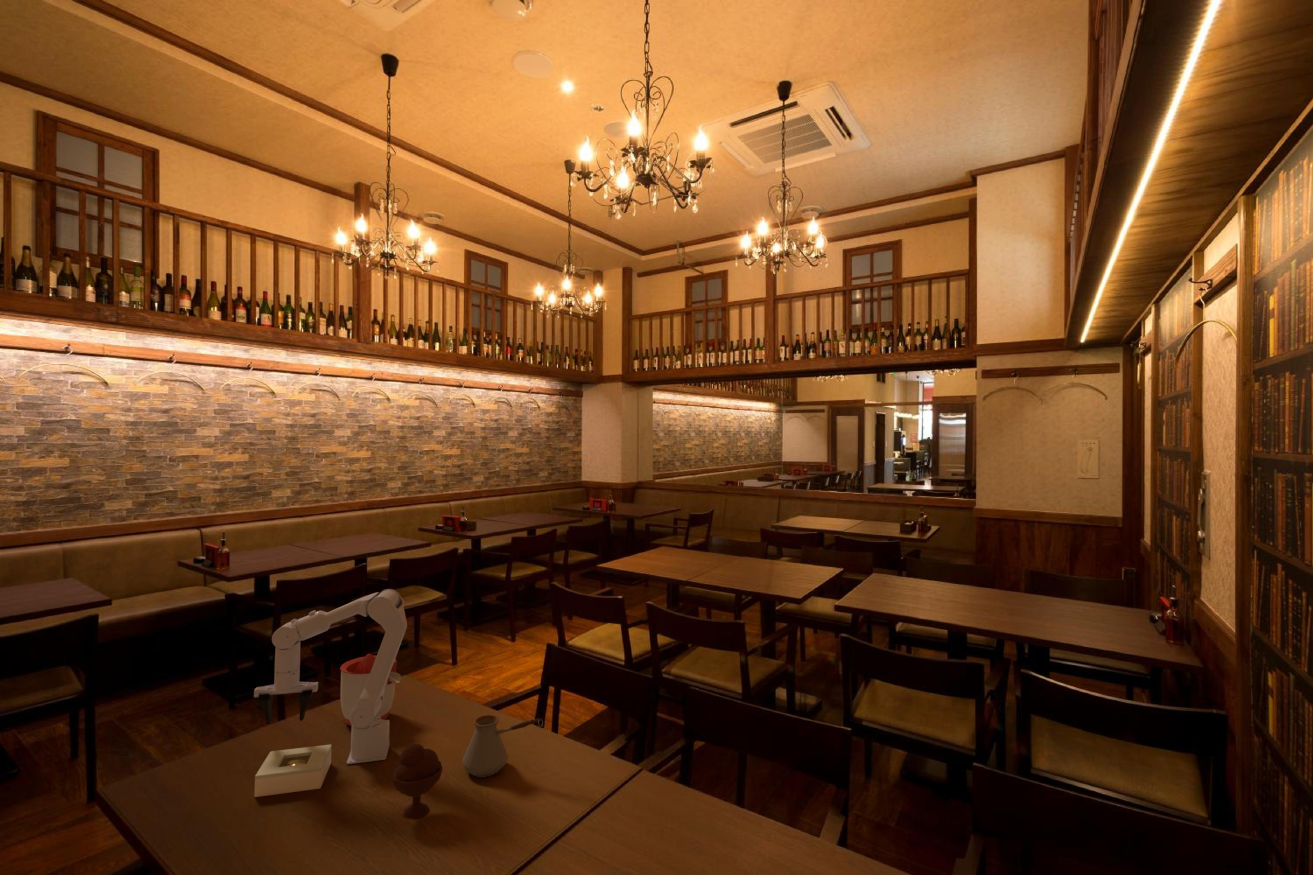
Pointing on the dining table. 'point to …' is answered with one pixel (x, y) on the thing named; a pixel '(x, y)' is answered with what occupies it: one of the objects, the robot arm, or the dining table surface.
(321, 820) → the dining table surface
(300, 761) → the gold rounded piece
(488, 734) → the coffee pot
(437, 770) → the ice cream bowl
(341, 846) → the dining table surface
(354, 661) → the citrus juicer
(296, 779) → the beige square holder
